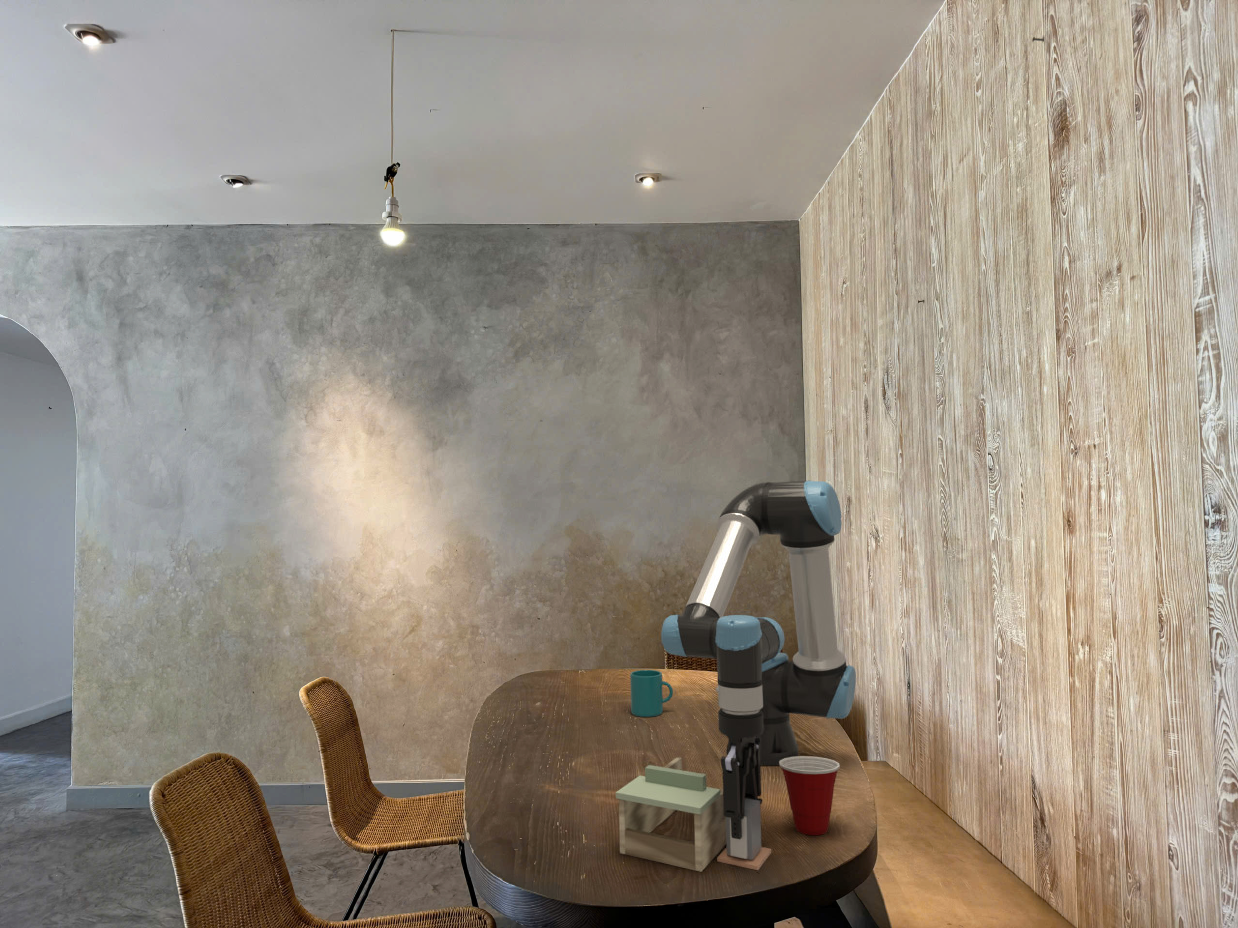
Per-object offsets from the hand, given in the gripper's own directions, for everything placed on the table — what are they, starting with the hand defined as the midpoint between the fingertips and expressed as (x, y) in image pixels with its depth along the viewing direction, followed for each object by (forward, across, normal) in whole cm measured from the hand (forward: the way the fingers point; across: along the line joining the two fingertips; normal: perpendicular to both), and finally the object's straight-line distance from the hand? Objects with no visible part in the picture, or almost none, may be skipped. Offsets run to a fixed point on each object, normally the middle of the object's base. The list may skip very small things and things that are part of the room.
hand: (744, 849), depth 129 cm
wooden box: (+1, -4, -12) cm, 13 cm away
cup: (+1, -72, -53) cm, 89 cm away
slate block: (0, 0, 0) cm, 0 cm away
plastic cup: (+1, -16, +7) cm, 18 cm away
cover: (-8, +4, -12) cm, 15 cm away
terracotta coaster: (+1, 0, 0) cm, 1 cm away
